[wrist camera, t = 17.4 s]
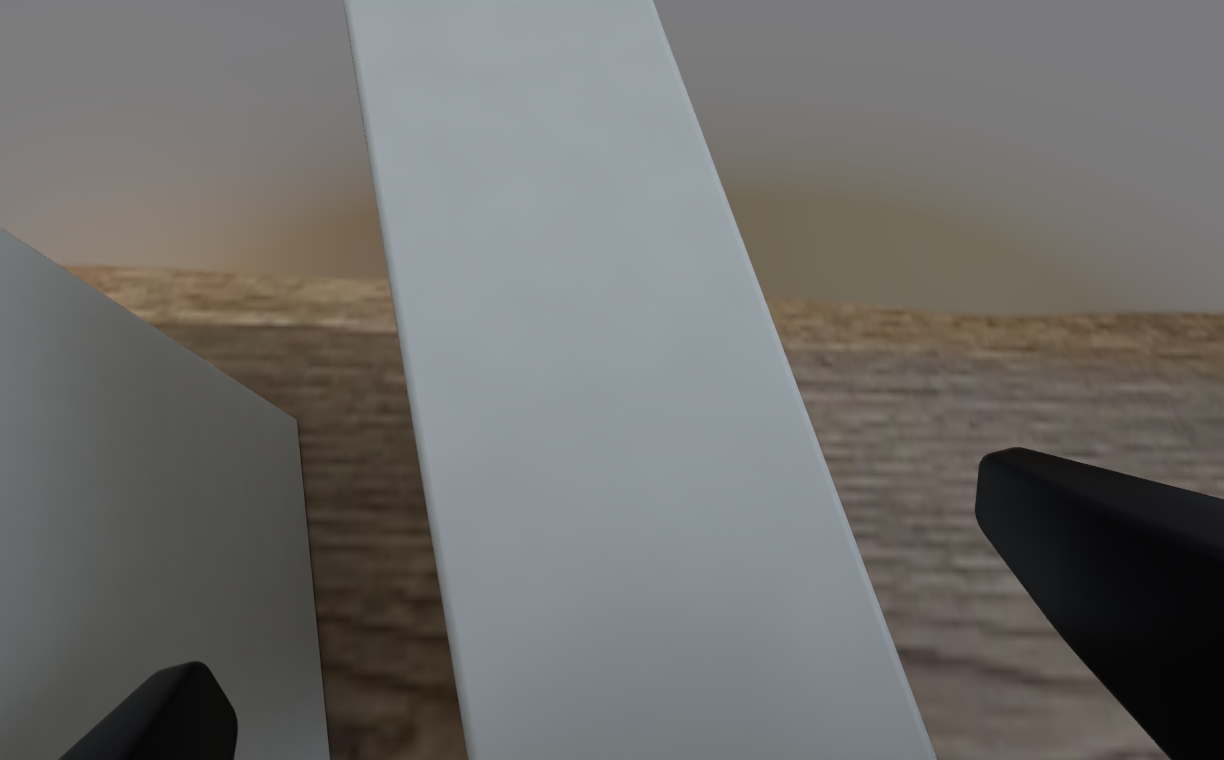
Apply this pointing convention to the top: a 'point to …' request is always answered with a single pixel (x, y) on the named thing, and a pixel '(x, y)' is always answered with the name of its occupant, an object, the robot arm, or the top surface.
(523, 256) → the white book
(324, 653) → the top surface
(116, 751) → the robot arm
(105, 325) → the white books
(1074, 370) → the top surface
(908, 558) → the top surface
